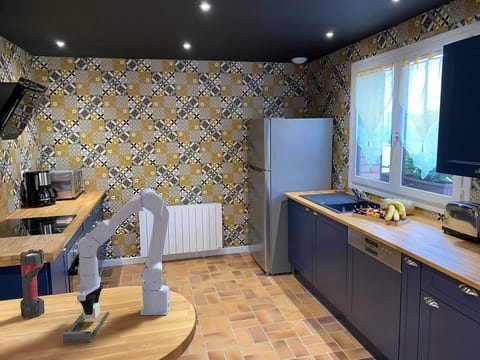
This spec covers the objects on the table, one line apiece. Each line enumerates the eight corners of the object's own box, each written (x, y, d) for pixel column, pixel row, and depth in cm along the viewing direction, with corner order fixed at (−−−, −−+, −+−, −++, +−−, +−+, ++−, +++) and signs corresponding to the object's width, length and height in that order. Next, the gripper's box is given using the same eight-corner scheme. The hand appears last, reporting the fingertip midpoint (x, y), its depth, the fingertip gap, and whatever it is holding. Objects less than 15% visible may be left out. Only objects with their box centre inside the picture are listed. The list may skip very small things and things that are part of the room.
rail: (109, 314, 132) (108, 306, 131) (90, 342, 115) (89, 333, 114) (85, 314, 132) (84, 306, 131) (62, 343, 115) (61, 334, 114)
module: (100, 312, 128) (99, 301, 128) (95, 318, 124) (94, 307, 124) (88, 312, 128) (87, 301, 128) (83, 318, 125) (82, 307, 124)
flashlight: (54, 310, 135) (49, 249, 131) (35, 321, 128) (29, 257, 124) (38, 307, 138) (33, 247, 134) (19, 317, 130) (13, 254, 127)
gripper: (85, 264, 131) (88, 301, 133) (67, 281, 117) (70, 322, 119) (105, 264, 131) (107, 300, 133) (89, 281, 117) (92, 322, 119)
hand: (91, 311), depth 126 cm, fingers closed on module, 4 cm apart
